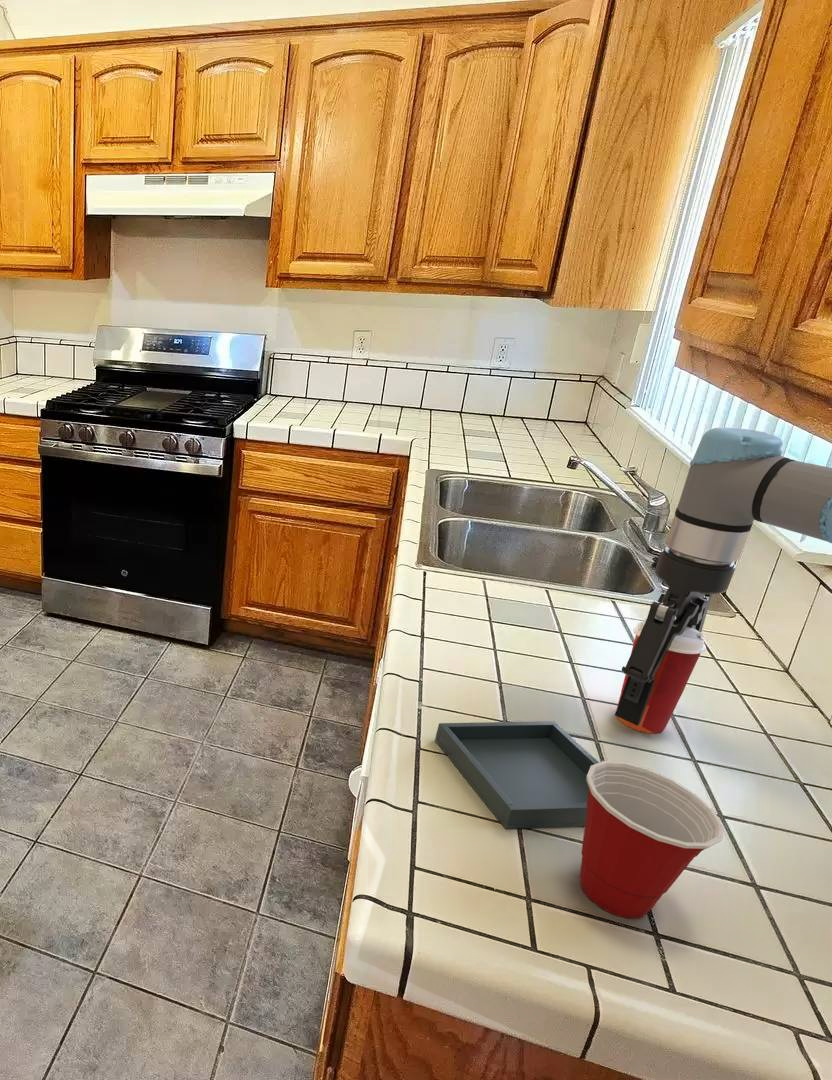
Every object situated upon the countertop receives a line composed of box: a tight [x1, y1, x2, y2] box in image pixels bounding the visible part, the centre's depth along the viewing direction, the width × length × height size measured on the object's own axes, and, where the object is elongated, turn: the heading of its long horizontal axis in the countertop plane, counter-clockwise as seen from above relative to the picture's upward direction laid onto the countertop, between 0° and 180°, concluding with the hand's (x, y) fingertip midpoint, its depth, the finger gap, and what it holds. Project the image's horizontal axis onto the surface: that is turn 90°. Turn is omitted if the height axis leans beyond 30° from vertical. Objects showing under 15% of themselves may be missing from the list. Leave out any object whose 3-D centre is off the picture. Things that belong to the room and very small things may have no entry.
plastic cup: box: [579, 760, 725, 919], centre depth 71 cm, size 11×11×12 cm
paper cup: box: [616, 618, 707, 735], centre depth 99 cm, size 8×8×14 cm
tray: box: [434, 720, 600, 830], centre depth 89 cm, size 16×16×3 cm
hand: (644, 707), depth 101 cm, fingers open, 10 cm apart
